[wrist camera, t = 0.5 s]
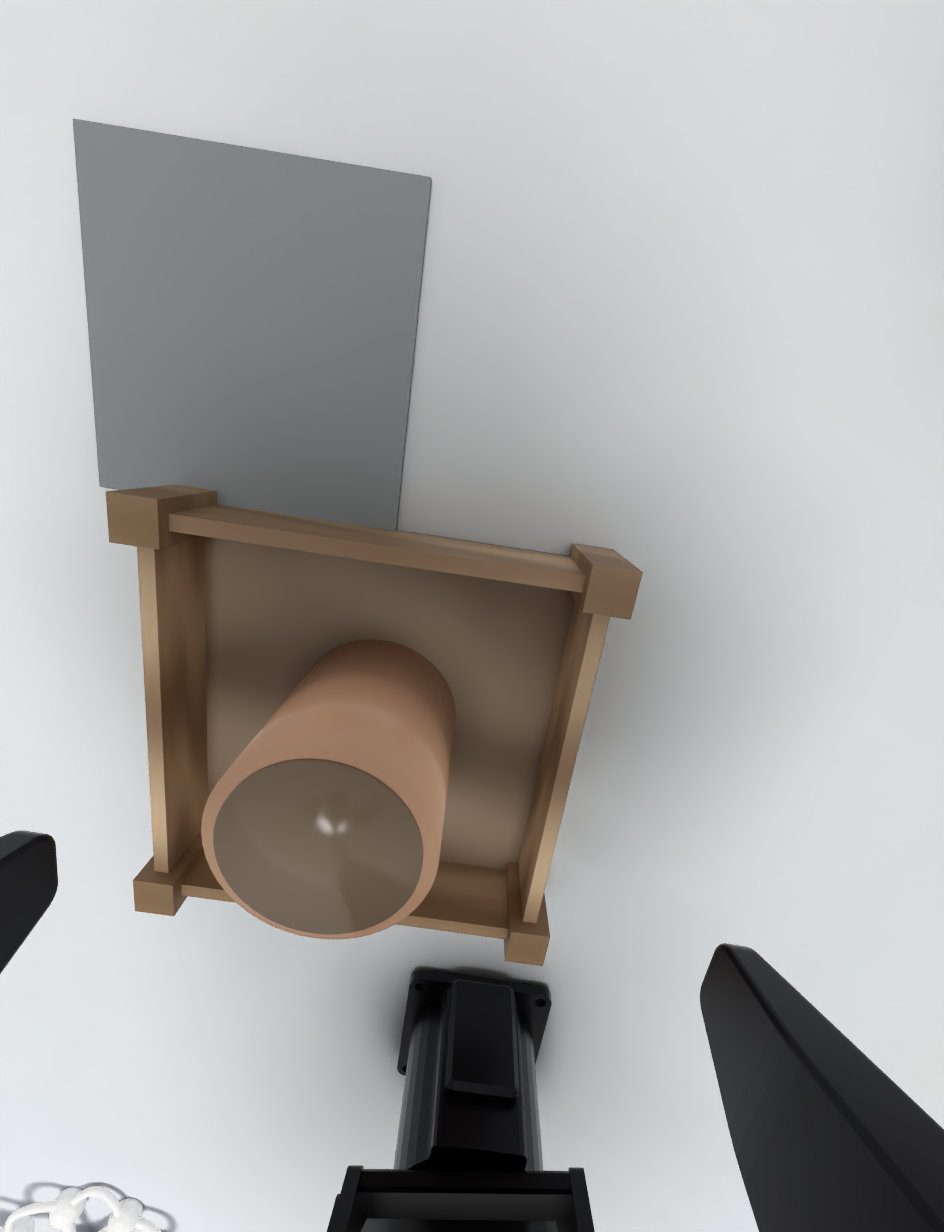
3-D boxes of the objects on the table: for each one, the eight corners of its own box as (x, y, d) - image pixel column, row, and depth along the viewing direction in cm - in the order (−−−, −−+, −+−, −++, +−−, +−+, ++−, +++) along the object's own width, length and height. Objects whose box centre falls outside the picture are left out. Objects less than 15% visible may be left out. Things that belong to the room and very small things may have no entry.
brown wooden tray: (534, 888, 22) (542, 965, 19) (188, 841, 22) (135, 910, 19) (613, 549, 18) (642, 572, 14) (178, 484, 17) (105, 491, 14)
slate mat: (396, 530, 18) (395, 531, 17) (103, 486, 17) (99, 486, 17) (431, 180, 15) (430, 177, 14) (78, 123, 14) (72, 118, 14)
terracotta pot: (444, 790, 21) (423, 960, 14) (295, 769, 20) (198, 929, 14) (466, 652, 19) (454, 768, 12) (301, 628, 19) (194, 730, 12)
